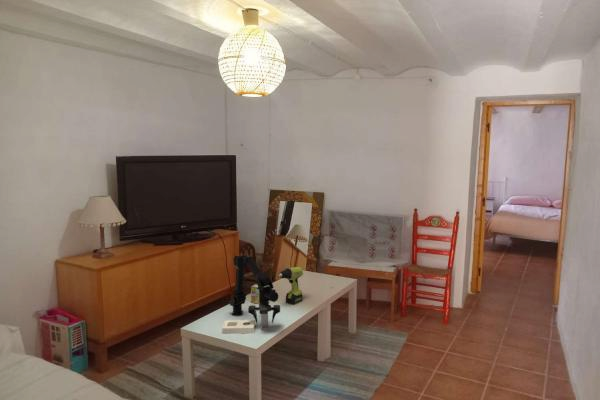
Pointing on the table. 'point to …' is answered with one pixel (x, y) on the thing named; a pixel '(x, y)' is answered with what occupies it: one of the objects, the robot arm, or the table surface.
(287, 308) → the table surface
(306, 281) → the table surface
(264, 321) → the square peg
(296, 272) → the cordless drill
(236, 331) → the socket plate
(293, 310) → the table surface
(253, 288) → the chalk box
